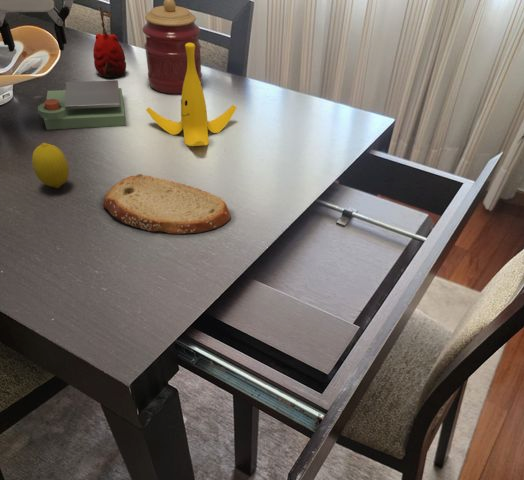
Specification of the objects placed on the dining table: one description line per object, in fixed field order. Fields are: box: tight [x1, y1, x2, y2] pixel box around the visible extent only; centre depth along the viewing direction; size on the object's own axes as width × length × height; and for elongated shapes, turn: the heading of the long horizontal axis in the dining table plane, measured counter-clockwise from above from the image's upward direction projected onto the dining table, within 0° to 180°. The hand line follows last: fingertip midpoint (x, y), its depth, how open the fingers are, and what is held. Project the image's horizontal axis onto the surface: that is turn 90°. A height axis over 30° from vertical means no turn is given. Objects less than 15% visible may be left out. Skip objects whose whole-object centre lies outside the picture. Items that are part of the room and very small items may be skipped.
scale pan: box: [65, 79, 121, 109], centre depth 104 cm, size 11×13×1 cm
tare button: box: [43, 99, 60, 110], centre depth 99 cm, size 3×3×1 cm
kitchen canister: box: [142, 0, 203, 95], centre depth 113 cm, size 13×13×18 cm
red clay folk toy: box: [92, 6, 127, 79], centre depth 116 cm, size 8×7×15 cm
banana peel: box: [145, 43, 237, 147], centre depth 97 cm, size 17×19×17 cm
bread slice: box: [102, 173, 232, 235], centre depth 81 cm, size 18×18×4 cm
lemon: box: [31, 142, 70, 189], centre depth 83 cm, size 6×6×8 cm
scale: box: [37, 87, 127, 131], centre depth 105 cm, size 17×15×4 cm
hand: (37, 48), depth 91 cm, fingers open, 8 cm apart
